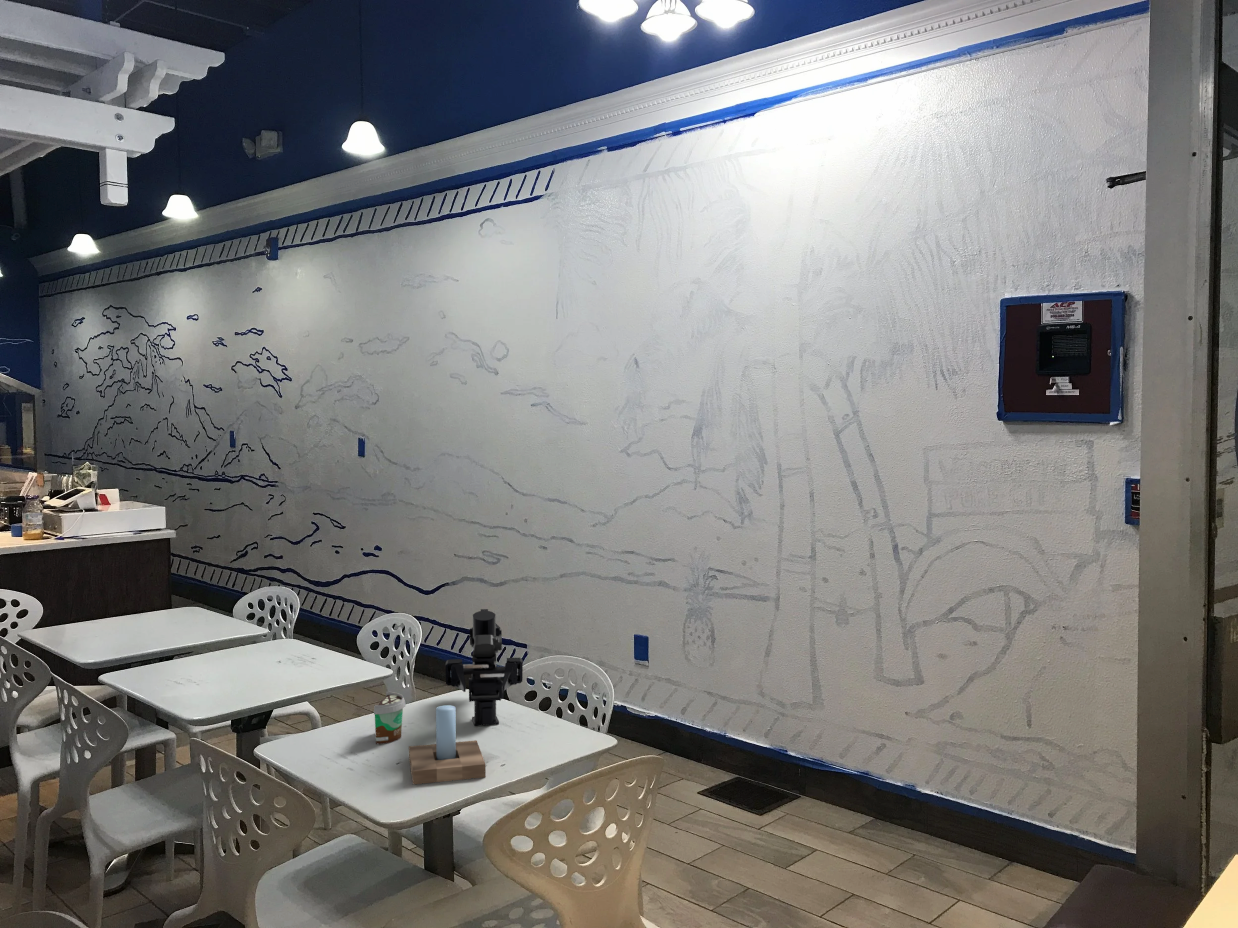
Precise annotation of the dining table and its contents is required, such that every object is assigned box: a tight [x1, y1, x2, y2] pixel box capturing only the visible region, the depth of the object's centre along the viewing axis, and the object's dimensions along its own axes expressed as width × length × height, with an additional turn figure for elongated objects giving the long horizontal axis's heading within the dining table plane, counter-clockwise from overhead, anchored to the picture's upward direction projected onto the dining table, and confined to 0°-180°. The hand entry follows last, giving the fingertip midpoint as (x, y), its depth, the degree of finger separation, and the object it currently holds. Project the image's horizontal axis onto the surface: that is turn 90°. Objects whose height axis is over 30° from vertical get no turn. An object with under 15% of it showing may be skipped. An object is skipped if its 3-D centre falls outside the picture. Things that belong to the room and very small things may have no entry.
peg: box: [435, 704, 457, 760], centre depth 222 cm, size 4×4×14 cm
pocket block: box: [408, 739, 487, 785], centre depth 222 cm, size 16×16×3 cm
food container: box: [373, 691, 406, 745], centre depth 242 cm, size 12×6×10 cm, turn 179°
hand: (484, 689), depth 229 cm, fingers open, 9 cm apart
